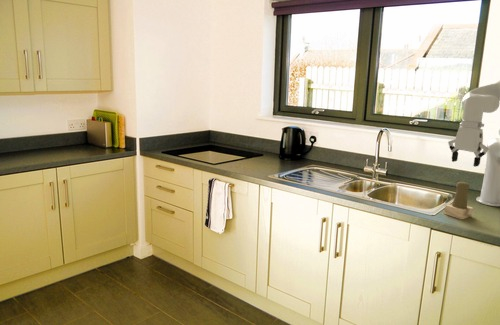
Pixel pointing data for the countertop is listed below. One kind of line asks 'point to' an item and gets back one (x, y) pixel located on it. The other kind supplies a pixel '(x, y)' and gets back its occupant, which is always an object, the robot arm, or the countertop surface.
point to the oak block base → (458, 211)
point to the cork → (461, 195)
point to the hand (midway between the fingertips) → (464, 163)
